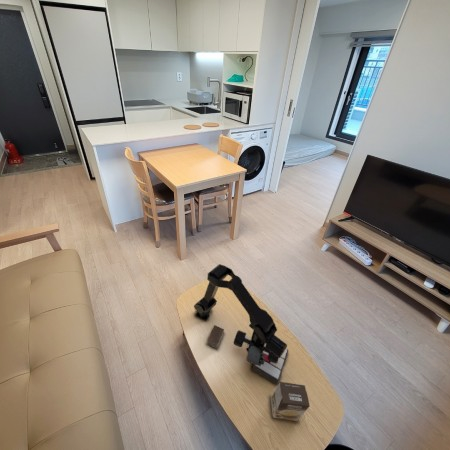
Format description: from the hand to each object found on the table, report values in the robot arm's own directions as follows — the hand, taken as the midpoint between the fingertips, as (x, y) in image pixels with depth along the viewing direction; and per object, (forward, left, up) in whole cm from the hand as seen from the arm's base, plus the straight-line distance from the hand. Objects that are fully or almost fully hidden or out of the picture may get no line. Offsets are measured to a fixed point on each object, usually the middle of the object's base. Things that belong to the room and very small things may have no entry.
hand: (253, 355), depth 103 cm
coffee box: (+16, -14, -2) cm, 21 cm away
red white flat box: (+7, +1, -2) cm, 7 cm away
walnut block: (-18, 0, -1) cm, 18 cm away
